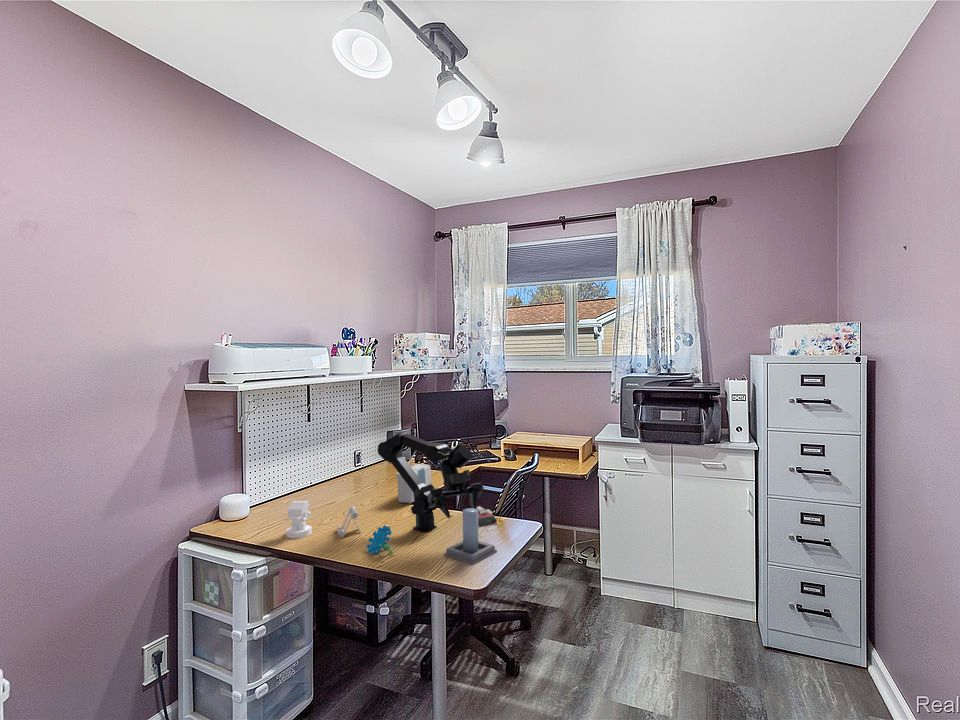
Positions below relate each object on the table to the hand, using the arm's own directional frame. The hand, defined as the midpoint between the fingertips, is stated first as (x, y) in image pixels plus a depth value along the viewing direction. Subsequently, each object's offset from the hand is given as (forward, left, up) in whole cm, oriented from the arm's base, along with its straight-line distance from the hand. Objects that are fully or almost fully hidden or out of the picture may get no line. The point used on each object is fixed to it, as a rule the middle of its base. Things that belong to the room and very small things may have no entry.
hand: (462, 515), depth 162 cm
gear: (-20, -19, -11) cm, 29 cm away
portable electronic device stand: (-43, -14, -11) cm, 47 cm away
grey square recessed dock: (+6, -3, -10) cm, 12 cm away
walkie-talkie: (-14, +27, -11) cm, 33 cm away
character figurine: (-57, -26, -10) cm, 64 cm away
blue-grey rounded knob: (+6, -3, -10) cm, 11 cm away
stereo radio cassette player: (-57, +31, -11) cm, 66 cm away
